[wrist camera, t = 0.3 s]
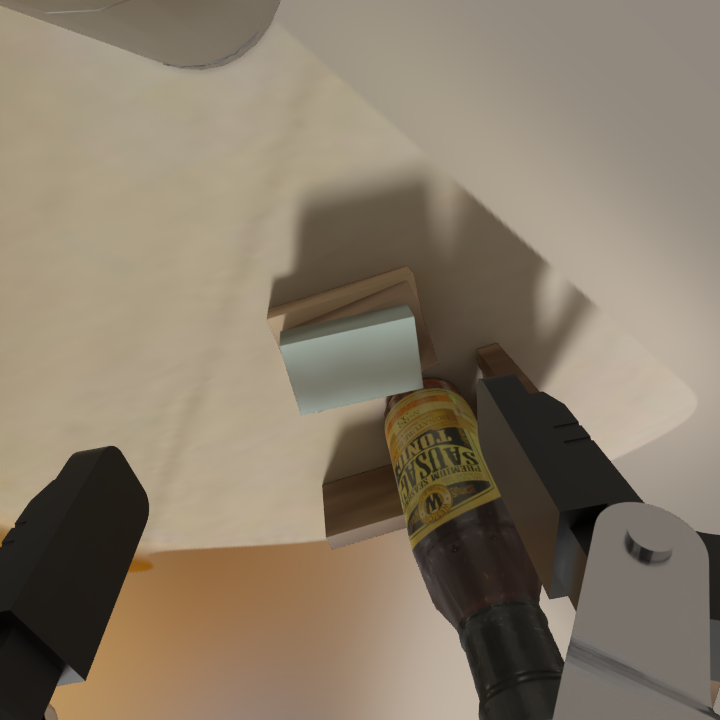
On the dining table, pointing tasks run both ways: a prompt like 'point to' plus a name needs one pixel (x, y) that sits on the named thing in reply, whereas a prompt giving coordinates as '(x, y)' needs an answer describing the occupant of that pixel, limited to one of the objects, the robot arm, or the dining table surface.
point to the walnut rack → (380, 491)
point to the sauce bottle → (472, 553)
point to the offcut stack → (354, 342)
